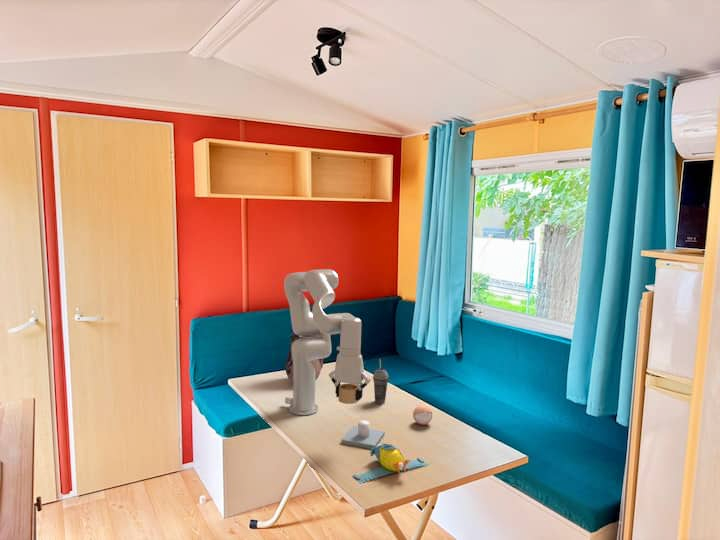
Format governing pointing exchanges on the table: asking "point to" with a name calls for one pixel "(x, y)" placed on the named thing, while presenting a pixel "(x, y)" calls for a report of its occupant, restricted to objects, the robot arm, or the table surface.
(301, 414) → the robot arm
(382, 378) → the beverage cup
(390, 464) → the toy parrot figure
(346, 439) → the block
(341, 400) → the ring
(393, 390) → the table surface
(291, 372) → the ceramic pitcher
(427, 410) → the toy ball
